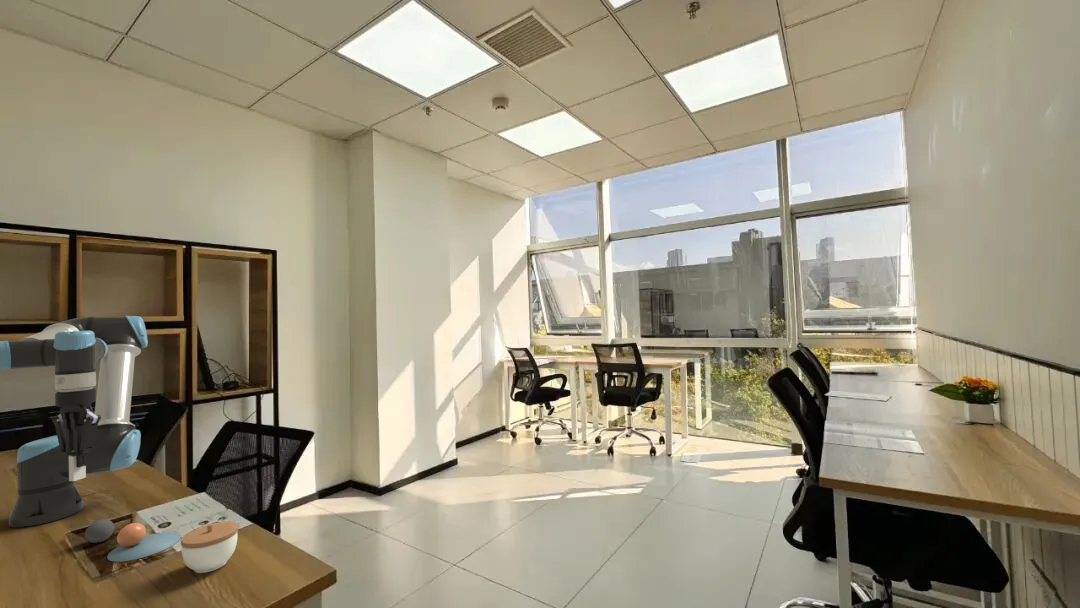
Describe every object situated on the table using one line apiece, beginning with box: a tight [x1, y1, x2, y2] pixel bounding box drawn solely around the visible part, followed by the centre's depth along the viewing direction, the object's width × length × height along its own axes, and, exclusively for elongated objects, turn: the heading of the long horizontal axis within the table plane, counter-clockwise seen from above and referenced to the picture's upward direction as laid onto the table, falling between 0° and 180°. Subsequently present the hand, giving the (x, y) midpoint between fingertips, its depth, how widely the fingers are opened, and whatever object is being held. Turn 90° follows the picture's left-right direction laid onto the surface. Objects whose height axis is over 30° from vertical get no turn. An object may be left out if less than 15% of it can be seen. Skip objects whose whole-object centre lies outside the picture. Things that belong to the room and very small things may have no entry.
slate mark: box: [106, 531, 182, 563], centre depth 114 cm, size 14×14×1 cm
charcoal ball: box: [84, 519, 115, 544], centre depth 118 cm, size 6×6×6 cm
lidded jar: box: [180, 521, 239, 574], centre depth 104 cm, size 11×11×9 cm
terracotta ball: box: [116, 522, 147, 547], centre depth 115 cm, size 6×6×6 cm
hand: (77, 479), depth 118 cm, fingers closed
